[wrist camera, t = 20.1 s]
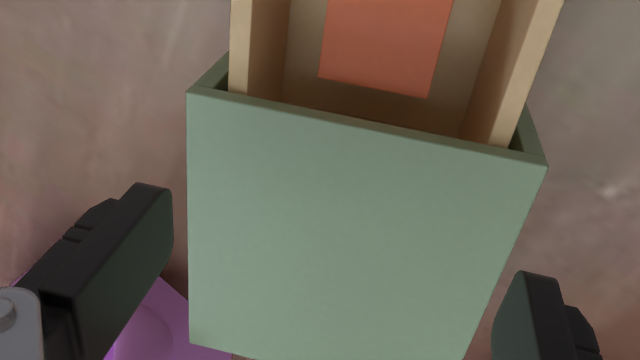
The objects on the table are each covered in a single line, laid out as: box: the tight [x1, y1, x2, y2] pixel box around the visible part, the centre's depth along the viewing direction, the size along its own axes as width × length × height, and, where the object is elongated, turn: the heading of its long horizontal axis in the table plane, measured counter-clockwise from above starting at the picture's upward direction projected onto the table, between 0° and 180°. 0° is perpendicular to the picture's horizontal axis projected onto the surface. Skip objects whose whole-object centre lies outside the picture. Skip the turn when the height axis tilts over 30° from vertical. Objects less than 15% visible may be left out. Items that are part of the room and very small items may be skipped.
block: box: [318, 0, 454, 99], centre depth 22 cm, size 5×5×5 cm
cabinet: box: [186, 51, 549, 360], centre depth 27 cm, size 15×14×10 cm
